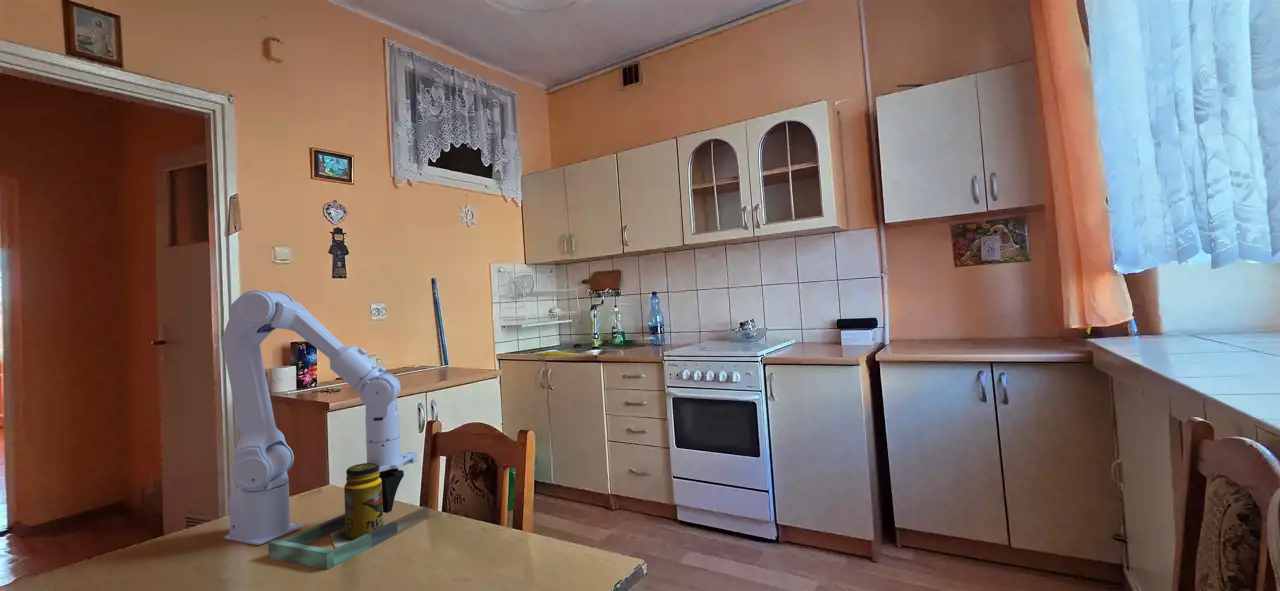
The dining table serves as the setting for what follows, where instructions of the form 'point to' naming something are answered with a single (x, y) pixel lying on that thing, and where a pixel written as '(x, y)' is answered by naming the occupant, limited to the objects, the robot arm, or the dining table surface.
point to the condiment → (361, 503)
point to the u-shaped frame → (324, 558)
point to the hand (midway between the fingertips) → (385, 511)
